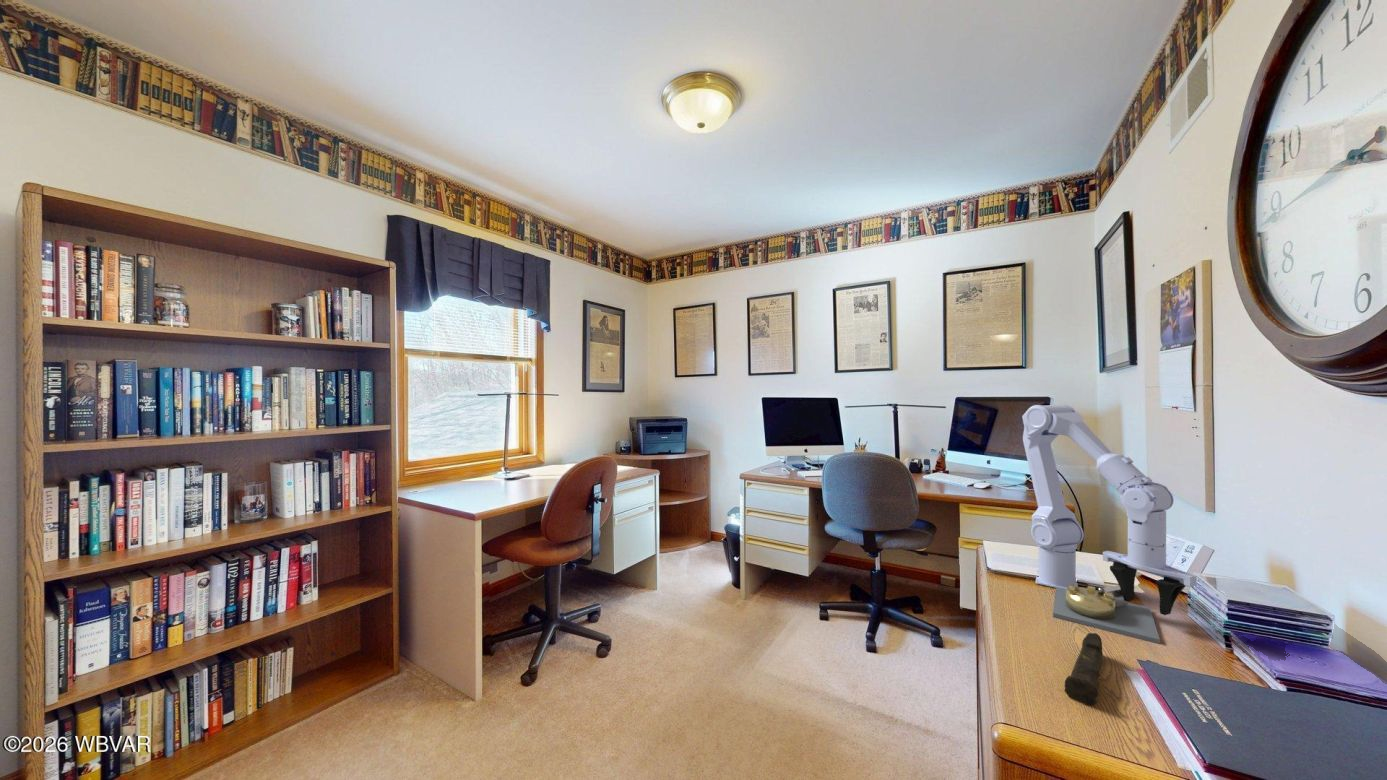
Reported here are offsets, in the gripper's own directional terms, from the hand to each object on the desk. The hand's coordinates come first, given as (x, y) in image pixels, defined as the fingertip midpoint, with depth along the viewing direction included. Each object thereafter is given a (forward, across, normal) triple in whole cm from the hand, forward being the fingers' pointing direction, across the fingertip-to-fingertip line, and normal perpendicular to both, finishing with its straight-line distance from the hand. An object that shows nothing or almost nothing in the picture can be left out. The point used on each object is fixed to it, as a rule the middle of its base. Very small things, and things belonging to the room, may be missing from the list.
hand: (1146, 606), depth 96 cm
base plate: (+3, +5, +6) cm, 8 cm away
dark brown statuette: (+3, -7, +32) cm, 33 cm away
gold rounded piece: (+2, +5, +5) cm, 8 cm away
